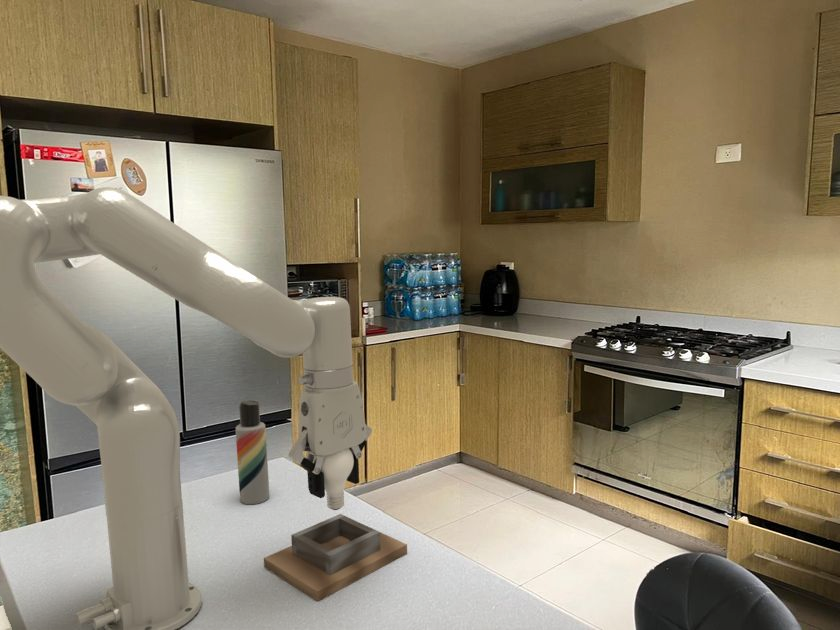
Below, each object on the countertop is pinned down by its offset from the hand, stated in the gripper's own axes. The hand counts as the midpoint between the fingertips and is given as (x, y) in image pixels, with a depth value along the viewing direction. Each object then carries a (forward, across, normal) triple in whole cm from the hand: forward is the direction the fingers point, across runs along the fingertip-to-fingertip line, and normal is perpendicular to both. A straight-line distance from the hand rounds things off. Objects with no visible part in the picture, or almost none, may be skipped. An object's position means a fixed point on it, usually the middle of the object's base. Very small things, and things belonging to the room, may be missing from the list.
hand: (334, 487), depth 99 cm
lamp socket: (+12, 0, 0) cm, 12 cm away
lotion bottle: (+12, +4, +31) cm, 34 cm away
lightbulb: (+4, 0, 0) cm, 4 cm away
